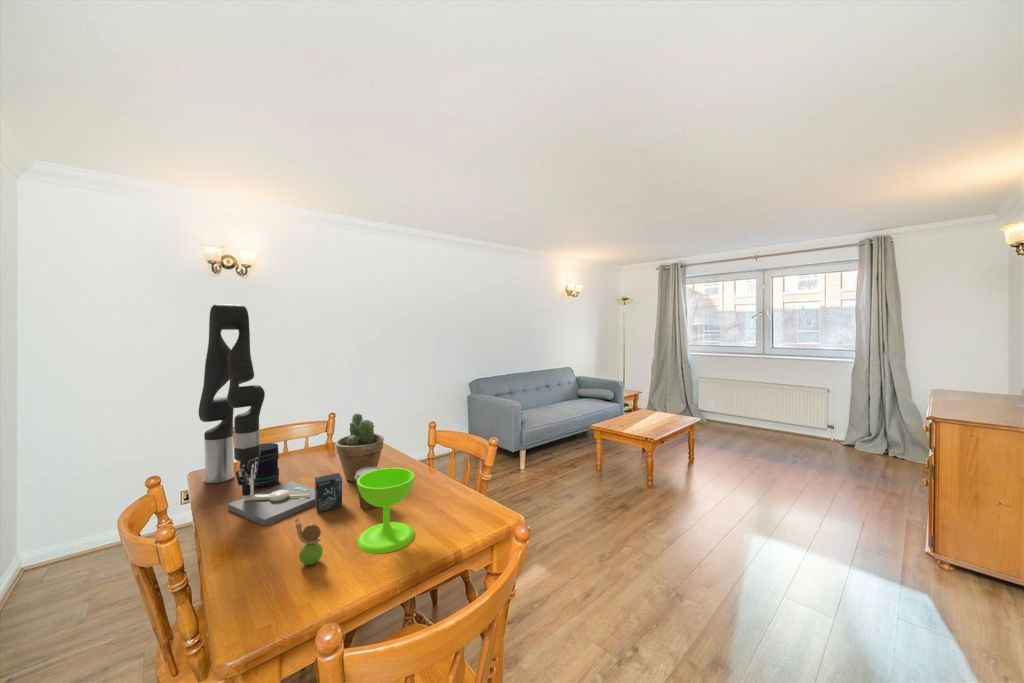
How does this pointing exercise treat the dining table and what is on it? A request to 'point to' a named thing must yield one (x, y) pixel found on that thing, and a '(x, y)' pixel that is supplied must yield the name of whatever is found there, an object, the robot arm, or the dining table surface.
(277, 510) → the dial board
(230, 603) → the dining table surface
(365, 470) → the disposable coffee cup
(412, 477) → the wineglass
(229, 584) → the dining table surface
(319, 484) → the box
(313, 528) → the snail figurine
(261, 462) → the storage jar
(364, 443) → the potted plant
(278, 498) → the tuning crank
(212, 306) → the robot arm
